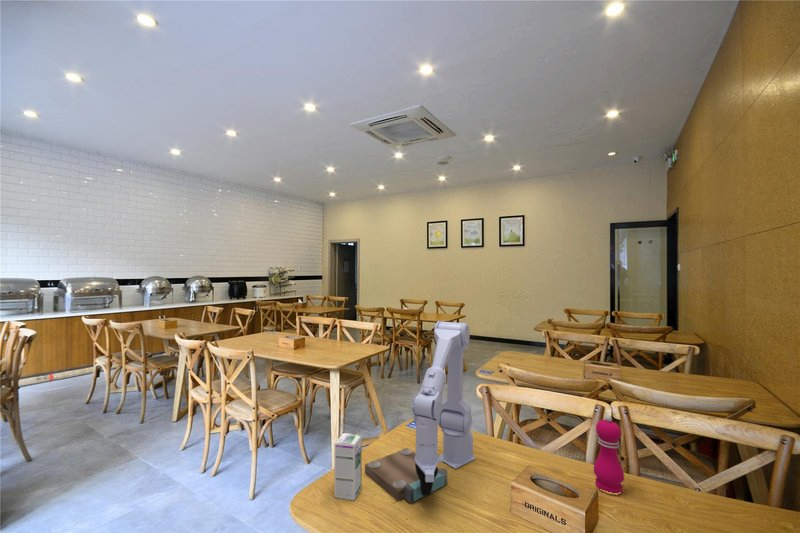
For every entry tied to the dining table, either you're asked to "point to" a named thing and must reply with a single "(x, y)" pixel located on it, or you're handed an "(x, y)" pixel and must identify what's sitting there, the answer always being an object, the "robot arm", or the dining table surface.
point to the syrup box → (348, 466)
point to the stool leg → (414, 489)
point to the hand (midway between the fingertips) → (426, 494)
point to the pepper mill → (608, 457)
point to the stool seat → (394, 472)
